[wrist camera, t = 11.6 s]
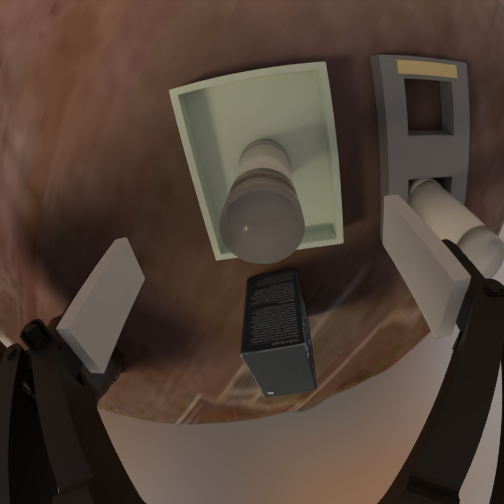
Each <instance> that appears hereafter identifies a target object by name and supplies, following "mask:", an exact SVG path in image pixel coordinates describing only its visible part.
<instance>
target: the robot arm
mask: <svg viewBox="0 0 504 504" xmlns="http://www.w3.org/2000/svg"><path fill="white" fill-rule="evenodd" d="M383 246H384V247H385V249H386V251H387V252H388V254H389V256H390V257H391V259H392V261H393V262H394V264H395V266H396V267H397V269H398V271H399V272H400V274H401V276H402V277H403V279H404V281H405V283H406V284H407V286H408V288H409V290H410V292H411V293H412V295H413V297H414V299H415V301H416V303H417V304H418V306H419V308H420V310H421V312H422V314H423V316H424V318H425V320H426V322H427V324H428V326H429V328H430V330H431V332H432V334H433V336H434V338H435V339H437V338H441V337H444V336H448V335H451V334H452V332H453V329H454V327H455V324H457V326H458V328H459V329H460V332H459V335H458V337H457V339H456V341H455V344H454V346H453V348H452V349H453V354H452V357H451V360H450V363H449V366H448V368H447V371H446V374H445V377H444V380H443V382H442V385H441V387H440V390H439V393H438V395H437V397H436V400H435V402H434V405H433V407H432V410H431V412H430V414H429V416H428V418H427V420H426V423H425V425H424V427H423V429H422V431H421V433H420V435H419V437H418V439H417V441H416V443H415V445H414V447H413V449H412V451H411V452H410V454H409V456H408V458H407V460H406V461H405V463H404V465H403V467H402V468H401V470H400V472H399V473H398V475H397V477H396V478H395V480H394V481H393V483H392V485H391V486H390V488H389V489H388V491H387V492H386V494H385V495H384V496H383V498H382V499H381V500H380V501H379V502H378V504H459V502H460V499H459V496H458V494H459V490H460V488H461V486H462V483H463V481H464V479H465V477H466V475H467V472H468V470H469V468H470V465H471V463H472V460H473V458H474V455H475V453H476V450H477V447H478V445H479V442H480V439H481V436H482V433H483V430H484V427H485V424H486V420H487V417H488V414H489V410H490V406H491V402H492V399H493V395H494V391H495V387H496V382H497V377H498V372H499V367H500V362H501V367H502V421H501V422H502V423H501V436H500V446H499V455H498V462H497V469H496V475H495V480H494V485H493V490H492V495H491V499H490V503H489V504H504V286H503V285H502V284H501V283H500V282H498V281H496V280H494V279H489V278H486V279H485V278H484V276H483V275H482V274H481V273H480V271H479V270H478V269H477V268H476V266H475V265H474V264H473V263H472V262H471V261H470V259H468V257H467V256H466V255H465V254H464V253H463V251H462V250H461V249H460V248H459V247H458V246H457V244H455V243H453V242H452V241H450V240H448V239H443V240H441V239H440V238H439V237H438V236H437V235H436V234H435V233H434V232H433V230H432V229H431V228H430V227H429V226H428V225H427V224H426V223H425V222H424V221H423V220H422V219H421V217H420V216H419V215H418V214H417V213H416V212H415V211H414V210H413V209H412V208H411V207H410V206H409V205H408V204H407V203H406V202H405V201H404V200H403V199H402V198H401V197H400V196H399V195H398V194H396V195H387V196H384V221H383ZM144 280H145V277H144V275H143V273H142V270H141V268H140V266H139V264H138V262H137V259H136V257H135V255H134V253H133V250H132V248H131V246H130V243H129V241H128V239H127V237H125V238H120V239H115V241H114V242H113V243H112V245H111V246H110V247H109V249H108V250H107V251H106V253H105V254H104V256H103V257H102V258H101V260H100V261H99V263H98V264H97V265H96V267H95V268H94V270H93V271H92V273H91V274H90V276H89V277H88V278H87V280H86V281H85V283H84V284H83V286H82V287H81V289H80V290H79V292H78V294H77V295H76V296H75V297H74V298H73V299H72V300H71V301H70V303H69V304H68V306H67V308H66V309H65V311H64V312H63V313H64V314H62V316H61V317H60V318H56V319H53V320H51V321H50V322H49V324H48V326H47V327H46V326H45V324H44V323H43V321H42V320H41V319H34V320H32V321H31V322H29V323H28V324H27V325H26V326H25V327H24V328H23V330H22V331H21V334H20V338H21V339H22V340H23V341H24V343H25V344H26V345H27V346H28V348H29V349H28V350H24V349H23V348H22V347H21V345H20V344H18V343H15V344H13V345H11V346H9V347H8V348H7V347H6V346H5V345H4V344H3V343H2V342H1V341H0V504H146V503H145V502H144V501H143V500H142V498H141V497H140V495H139V494H138V492H137V490H136V489H135V487H134V485H133V483H132V482H131V480H130V478H129V476H128V474H127V473H126V471H125V469H124V467H123V465H122V463H121V461H120V459H119V457H118V455H117V453H116V451H115V449H114V447H113V445H112V442H111V440H110V438H109V436H108V434H107V431H106V429H105V427H104V424H103V422H102V420H101V417H100V415H99V412H98V410H97V405H98V402H99V400H100V399H101V398H102V397H103V395H104V394H105V393H106V392H107V390H108V389H109V388H110V386H111V384H113V383H115V382H116V381H117V379H118V378H119V375H120V373H121V370H122V367H123V362H122V359H121V357H120V355H119V353H118V352H117V350H116V349H115V348H114V347H115V345H116V342H117V340H118V338H119V335H120V333H121V331H122V328H123V326H124V324H125V321H126V319H127V317H128V315H129V312H130V310H131V308H132V306H133V304H134V301H135V299H136V297H137V295H138V293H139V291H140V288H141V286H142V284H143V282H144ZM57 486H58V487H57ZM58 489H59V494H58Z"/></svg>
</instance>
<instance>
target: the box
mask: <svg viewBox="0 0 504 504" xmlns="http://www.w3.org/2000/svg"><path fill="white" fill-rule="evenodd" d="M240 356H241V357H242V358H243V360H244V362H245V363H246V365H247V366H248V368H249V370H250V372H251V373H252V375H253V377H254V379H255V381H256V382H257V384H258V386H259V388H260V390H261V392H262V394H263V396H264V397H265V398H267V397H272V396H280V395H287V394H294V393H300V392H306V391H311V390H315V389H317V383H316V374H315V366H314V358H313V350H312V342H311V335H310V328H309V321H308V315H307V312H306V307H305V303H304V300H303V296H302V291H301V288H300V284H299V279H298V275H297V271H296V270H295V269H292V270H287V271H283V272H278V273H274V274H269V275H264V276H259V277H255V278H250V279H248V280H247V286H246V297H245V309H244V319H243V330H242V341H241V351H240Z"/></svg>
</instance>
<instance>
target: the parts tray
mask: <svg viewBox="0 0 504 504" xmlns="http://www.w3.org/2000/svg"><path fill="white" fill-rule="evenodd" d="M169 93H170V97H171V101H172V105H173V109H174V113H175V117H176V121H177V125H178V129H179V133H180V136H181V140H182V144H183V148H184V151H185V155H186V159H187V162H188V166H189V170H190V173H191V177H192V180H193V184H194V187H195V191H196V194H197V198H198V201H199V205H200V208H201V212H202V215H203V219H204V222H205V225H206V229H207V232H208V235H209V239H210V242H211V245H212V249H213V252H214V255H215V258H216V260H224V259H231V258H238V257H237V256H235V255H234V254H233V253H232V252H230V250H229V249H228V248H227V247H226V246H225V244H224V242H223V240H222V238H221V235H220V230H219V222H220V217H221V213H222V210H223V207H224V204H225V201H226V199H227V197H228V195H229V192H230V189H231V186H232V185H233V182H234V179H235V176H236V173H237V169H238V164H239V159H240V156H241V154H242V152H243V150H244V148H245V147H246V146H247V145H248V144H250V143H251V142H253V141H255V140H259V139H270V140H273V141H276V142H277V143H279V144H280V145H282V147H283V148H284V149H285V150H286V152H287V154H288V157H289V161H290V170H291V174H292V178H293V183H294V187H295V189H296V192H297V196H298V199H299V202H300V204H301V208H302V213H303V217H304V222H305V231H304V236H303V239H302V241H301V243H300V245H299V246H298V248H297V249H296V250H298V249H305V248H313V247H320V246H327V245H335V244H342V243H343V218H342V199H341V184H340V171H339V159H338V149H337V139H336V130H335V122H334V114H333V106H332V99H331V92H330V86H329V80H328V73H327V67H326V62H312V63H302V64H292V65H284V66H277V67H270V68H263V69H257V70H251V71H246V72H240V73H235V74H230V75H225V76H221V77H216V78H212V79H208V80H204V81H200V82H196V83H192V84H188V85H185V86H181V87H178V88H174V89H171V90H169Z"/></svg>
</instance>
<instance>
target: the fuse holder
mask: <svg viewBox="0 0 504 504" xmlns="http://www.w3.org/2000/svg"><path fill="white" fill-rule="evenodd" d="M370 61H371V68H372V75H373V82H374V90H375V99H376V109H377V120H378V134H379V151H380V185H381V206H380V239H381V240H382V242H383V221H384V196H387V195H396V194H398V195H399V196H400V197H401V198H402V199H403V200H404V201H405V202H406V203H407V204H408V180H409V179H422V178H436V177H441V183H440V185H441V186H442V187H443V188H444V189H445V190H446V191H447V192H449V193H450V194H451V195H452V196H453V197H455V198H456V199H457V200H458V201H459V202H460V203H461V204H463V205H464V204H465V196H466V187H467V176H468V163H469V142H470V109H469V88H468V76H467V66H466V63H463V62H457V61H450V60H443V59H435V58H426V57H416V56H402V55H372V56H370ZM404 78H407V79H425V80H438V81H439V82H440V94H441V112H442V130H408V120H407V105H406V93H405V83H404Z"/></svg>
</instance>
